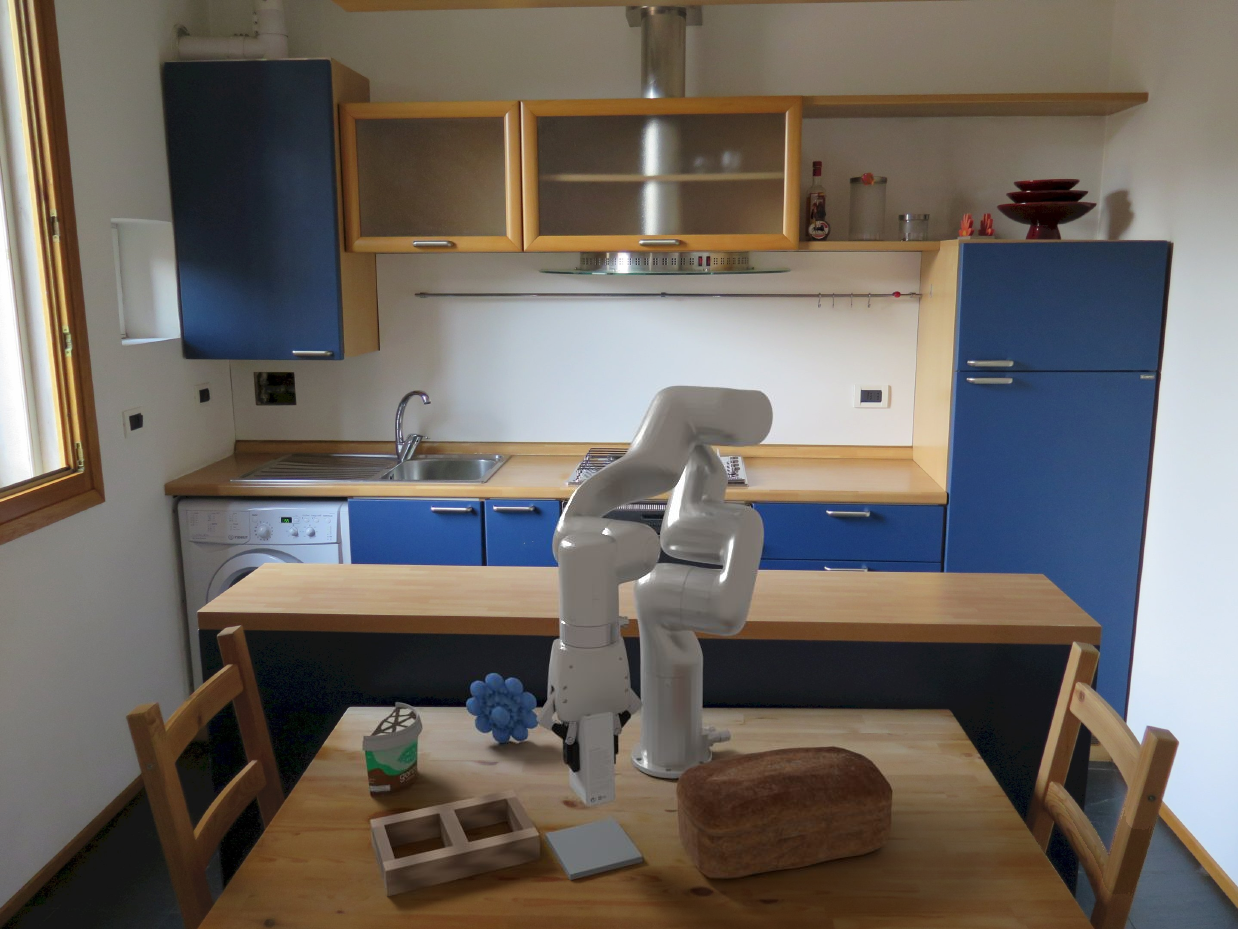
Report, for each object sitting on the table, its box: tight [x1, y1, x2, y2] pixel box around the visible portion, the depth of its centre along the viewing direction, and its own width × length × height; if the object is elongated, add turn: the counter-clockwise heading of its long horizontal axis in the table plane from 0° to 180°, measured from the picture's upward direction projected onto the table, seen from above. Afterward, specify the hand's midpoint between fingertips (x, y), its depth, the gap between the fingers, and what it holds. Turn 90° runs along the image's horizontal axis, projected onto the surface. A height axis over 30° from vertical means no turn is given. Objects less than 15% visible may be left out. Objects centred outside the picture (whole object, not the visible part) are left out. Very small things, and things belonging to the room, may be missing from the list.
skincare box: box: [568, 712, 616, 807], centre depth 130 cm, size 6×4×12 cm
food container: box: [362, 701, 423, 797], centre depth 150 cm, size 12×6×10 cm, turn 168°
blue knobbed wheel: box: [465, 672, 539, 744], centre depth 160 cm, size 12×7×12 cm, turn 90°
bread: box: [675, 746, 893, 880], centre depth 132 cm, size 14×28×12 cm, turn 106°
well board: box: [369, 789, 541, 897], centre depth 132 cm, size 20×12×4 cm, turn 112°
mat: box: [544, 817, 644, 881], centre depth 133 cm, size 10×10×1 cm
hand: (590, 762), depth 130 cm, fingers closed on skincare box, 4 cm apart
